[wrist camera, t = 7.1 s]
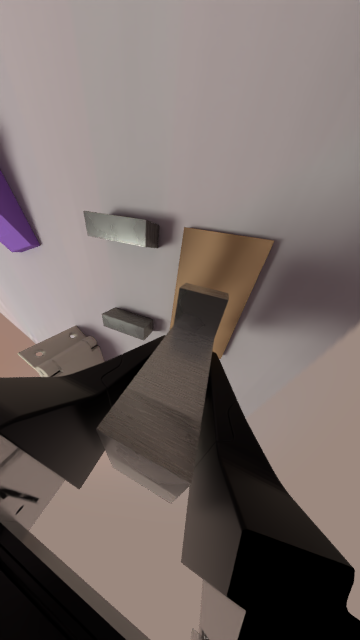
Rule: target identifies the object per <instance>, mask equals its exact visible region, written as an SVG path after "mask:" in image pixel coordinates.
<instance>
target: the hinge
mask: <svg viewBox="0 0 360 640" xmlns="http://www.w3.org/2000/svg"><path fill="white" fill-rule="evenodd" d="M70 335H74V336H75V338H71V337H70ZM96 344H97V342H96V340H95V339H94V338H93V337H91V336H88V337H86V336H85V335H84V334H83V333H82V332H81V331H80V330H79V329H78V328H77V326H74V327H72V328H70V329H67V330H65V331H63V332H61V333H59V334H57V335H55V336H53V337H51V338H48V339H46V340H44V341H42V342H40V343H38V344H36V345H34V346H32V347H30V348H27V349H25V350H23V351H21V352H19V353H18V355H19V356H20V357H21V358H23V359H24V360H25V361H26V362H27V363H28V364H29V365H30V366H31V367H33V368H34V369H35V370H36V371H37V372H38V373H39V375H40V376H41V377H59V376H65V375H69V374H72V373H75V372H78V371H81V370H84V369H86V368H89V367H92V366H95V365H97V364H100V363H103V362H104V359H103V356H102V353H101V350H100V348H99V346H96V347H94V348H93V346H95V345H96ZM37 352H42V353H43V355H42V356H40V357H39V356H36V353H37Z"/></svg>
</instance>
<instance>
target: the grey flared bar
mask: <svg viewBox="0 0 360 640" xmlns="http://www.w3.org/2000/svg"><path fill="white" fill-rule="evenodd" d="M228 301H229V293H226V292H222V291H218V290H214V289H209V288H205V287H201V286H197V285H193V284H189V283H185V284H184V285H182V286H181V287H180V288H179V294H178V300H177V307H176V313H175V320H174V325H173V327H172V328H171V329H170V331H169V332H168V333H167V335H166V336H165V337H164V339H163V340H162V341H161V343H160V344H159V345H158V347H157V348H156V349H155V351H154V352H153V353H152V355H151V356H150V357H149V359H148V360H147V361H146V363H145V364H144V365H143V367H142V368H141V369H140V371H139V372H138V373H137V375H136V376H135V377H134V379H133V380H132V381H131V383H130V384H129V385H128V387H127V388H126V389H125V391H124V392H123V393H122V395H121V396H120V397H119V399H118V400H117V401H116V403H115V404H114V405H113V407H112V408H111V409H110V411H109V412H108V413H107V415H106V416H105V417H104V419H103V420H102V421H101V423H100V424H99V425H98V427H97V428H96V430H97V433H98V435H99V437H100V439H101V442H102V444H103V446H104V448H105V451H106V453H107V455H108V457H109V460H110V462H111V464H112V466H113V468H115V469H117V470H118V471H120V472H121V473H123V474H125V475H126V476H128V477H129V478H131V479H133V480H134V481H136V482H137V483H139V484H141V485H142V486H144V487H145V488H147V489H148V490H150V491H152V492H153V493H155V494H156V495H158V496H160V497H161V498H163V499H164V500H166V501H167V502H169V503H172V502H173V501H174V500H175V499H176V498H178V496H180V495H181V493H183V492H184V491H185V490H186V489H187V488H188V487H189V486H190V485H191V484H192V478H193V472H194V466H195V459H196V453H197V446H198V440H199V434H200V427H201V421H202V414H203V408H204V402H205V395H206V389H207V382H208V376H209V370H210V363H211V357H212V350H213V344H214V338H215V335H216V333H217V330H218V327H219V325H220V322H221V319H222V317H223V314H224V311H225V309H226V306H227V303H228Z"/></svg>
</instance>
